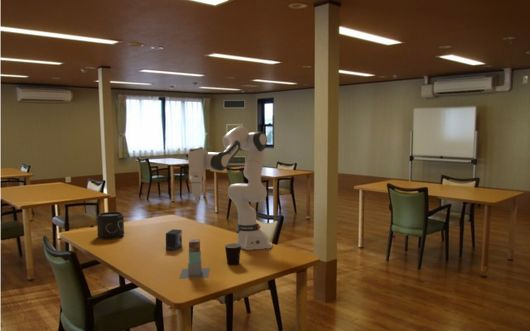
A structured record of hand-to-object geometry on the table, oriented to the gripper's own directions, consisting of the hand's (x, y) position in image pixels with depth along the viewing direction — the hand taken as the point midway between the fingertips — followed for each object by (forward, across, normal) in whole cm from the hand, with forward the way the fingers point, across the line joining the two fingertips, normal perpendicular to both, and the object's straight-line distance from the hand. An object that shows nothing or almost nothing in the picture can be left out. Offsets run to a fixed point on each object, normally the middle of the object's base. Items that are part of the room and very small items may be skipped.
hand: (198, 201), depth 219 cm
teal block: (+26, +22, -1) cm, 34 cm away
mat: (+32, +22, -1) cm, 39 cm away
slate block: (+32, +22, -1) cm, 39 cm away
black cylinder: (+33, -58, -64) cm, 93 cm away
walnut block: (+20, +22, -1) cm, 30 cm away
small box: (+33, -25, -18) cm, 45 cm away
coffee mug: (+33, +8, +19) cm, 39 cm away
